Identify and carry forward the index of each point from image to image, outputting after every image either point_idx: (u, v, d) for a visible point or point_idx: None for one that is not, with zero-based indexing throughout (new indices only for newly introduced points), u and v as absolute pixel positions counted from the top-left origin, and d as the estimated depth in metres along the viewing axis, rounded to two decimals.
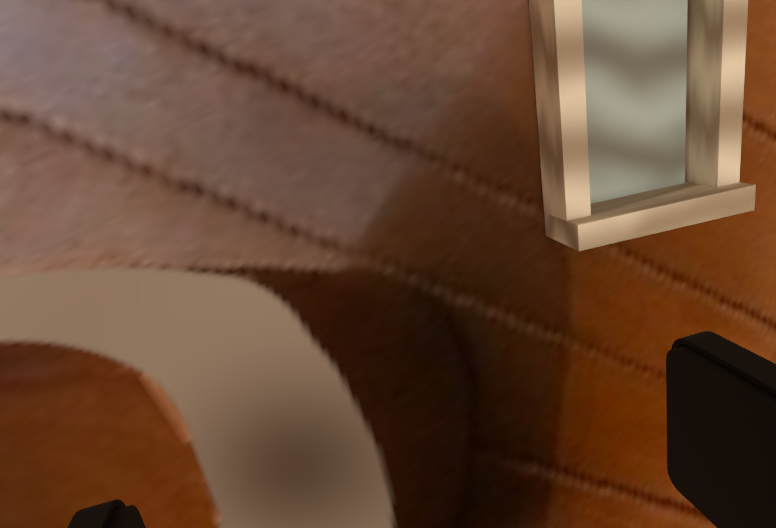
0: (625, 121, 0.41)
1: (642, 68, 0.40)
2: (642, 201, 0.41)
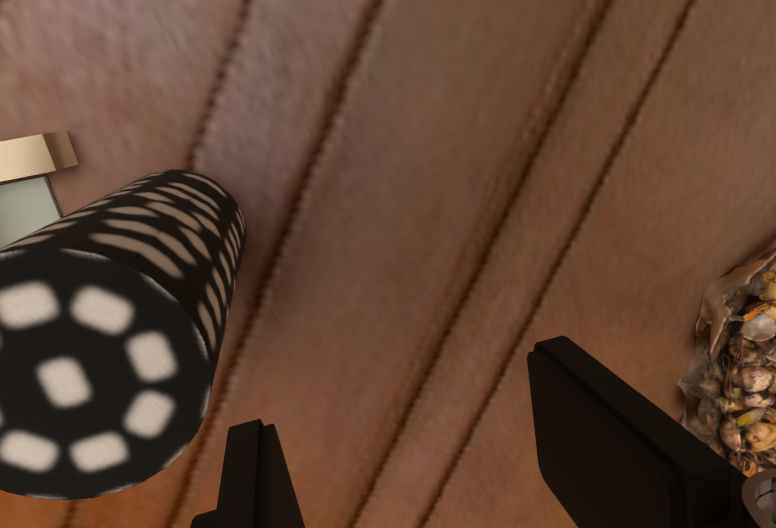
0: None
1: None
2: None
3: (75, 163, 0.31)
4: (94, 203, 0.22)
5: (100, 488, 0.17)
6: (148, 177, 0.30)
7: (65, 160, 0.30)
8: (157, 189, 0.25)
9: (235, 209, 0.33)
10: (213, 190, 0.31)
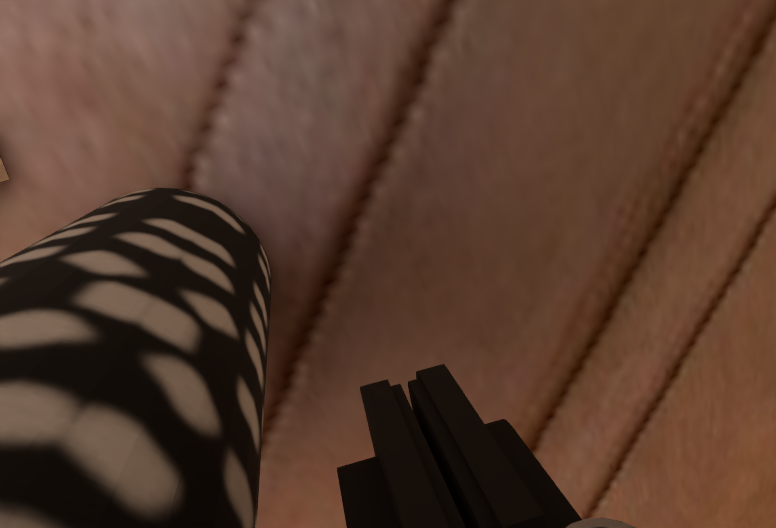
0: None
1: None
2: None
3: (2, 178, 0.19)
4: None
5: None
6: (115, 205, 0.18)
7: None
8: (118, 240, 0.13)
9: (257, 252, 0.21)
10: (223, 225, 0.19)
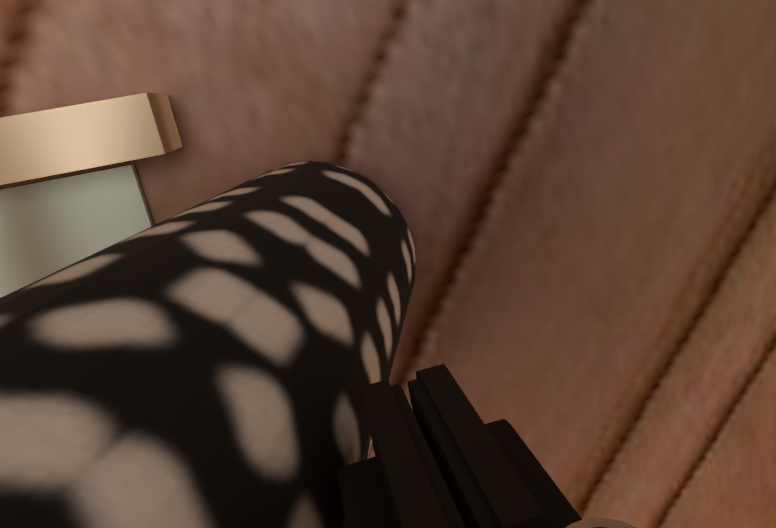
0: None
1: None
2: None
3: (179, 144, 0.20)
4: (87, 260, 0.10)
5: None
6: (264, 178, 0.17)
7: (171, 139, 0.19)
8: (246, 219, 0.12)
9: (402, 237, 0.19)
10: (367, 206, 0.18)
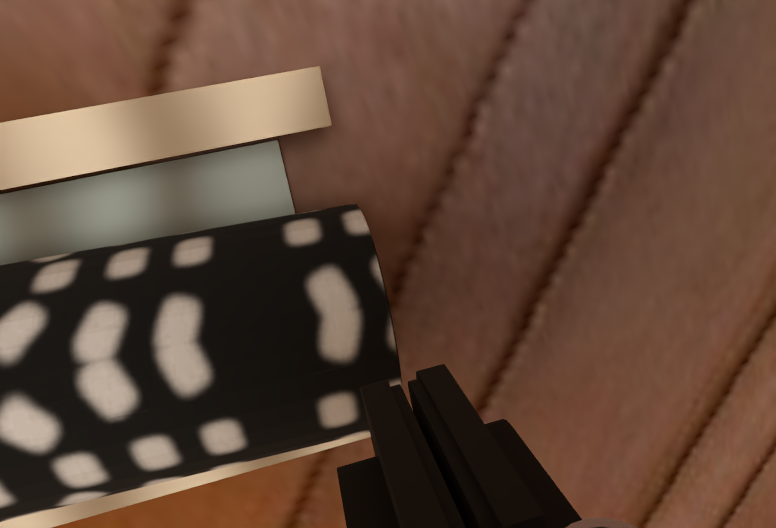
0: None
1: None
2: None
3: None
4: None
5: None
6: (264, 239, 0.16)
7: None
8: (84, 311, 0.15)
9: (344, 389, 0.16)
10: (294, 343, 0.15)
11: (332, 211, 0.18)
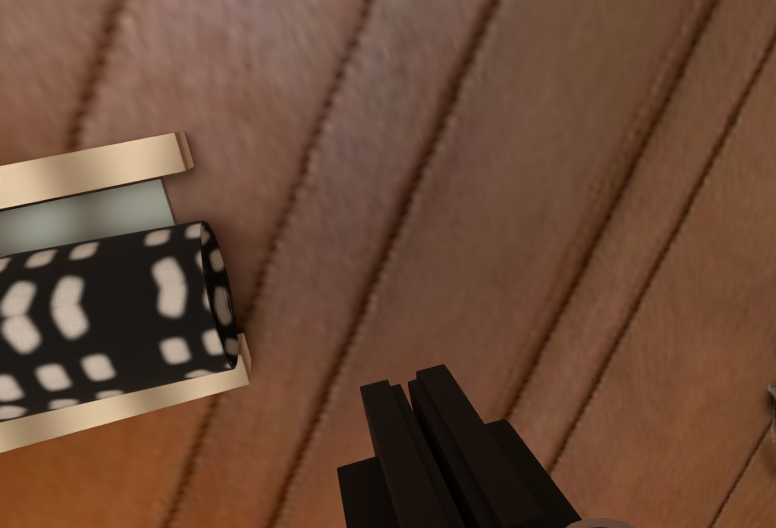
0: None
1: None
2: None
3: (192, 165, 0.30)
4: None
5: None
6: (131, 242, 0.26)
7: (188, 161, 0.29)
8: (8, 286, 0.24)
9: (177, 335, 0.24)
10: (142, 304, 0.24)
11: (183, 225, 0.27)
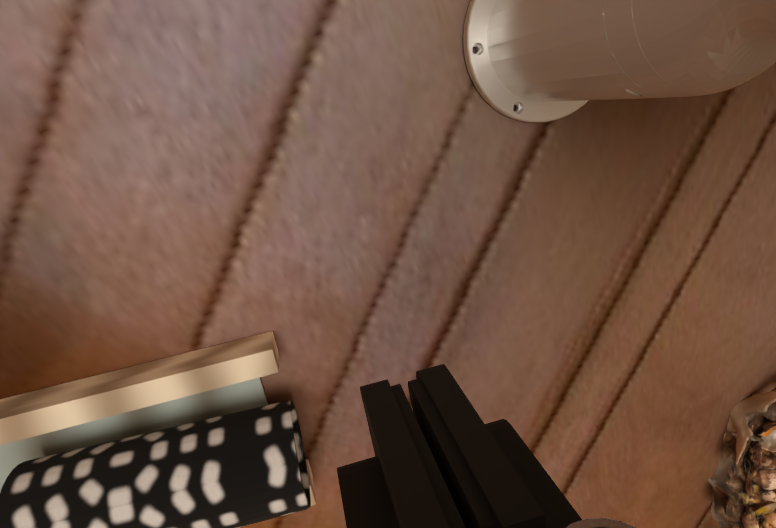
0: None
1: None
2: None
3: (278, 353, 0.43)
4: (130, 454, 0.37)
5: None
6: (246, 430, 0.38)
7: (277, 357, 0.41)
8: (173, 469, 0.36)
9: (279, 498, 0.37)
10: (258, 480, 0.37)
11: (278, 411, 0.40)
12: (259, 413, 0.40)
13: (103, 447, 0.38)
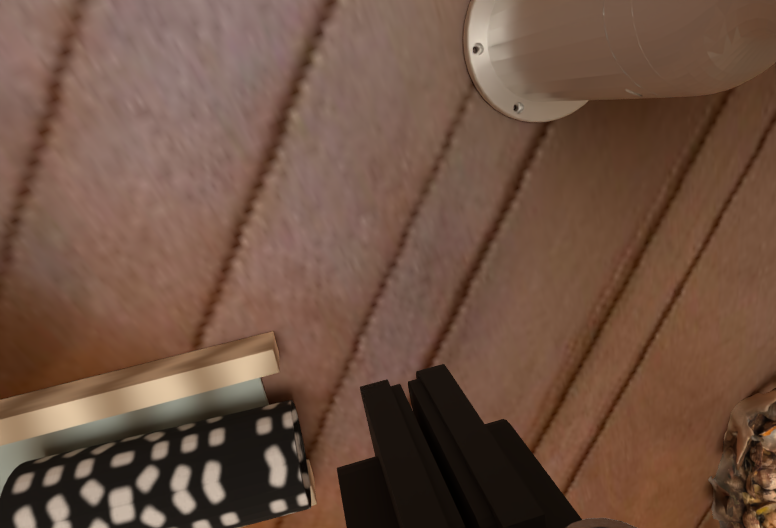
0: None
1: None
2: None
3: (278, 353, 0.43)
4: (131, 454, 0.37)
5: None
6: (247, 431, 0.38)
7: (277, 357, 0.41)
8: (173, 469, 0.36)
9: (280, 498, 0.37)
10: (259, 480, 0.37)
11: (278, 411, 0.40)
12: (260, 413, 0.40)
13: (104, 447, 0.38)
